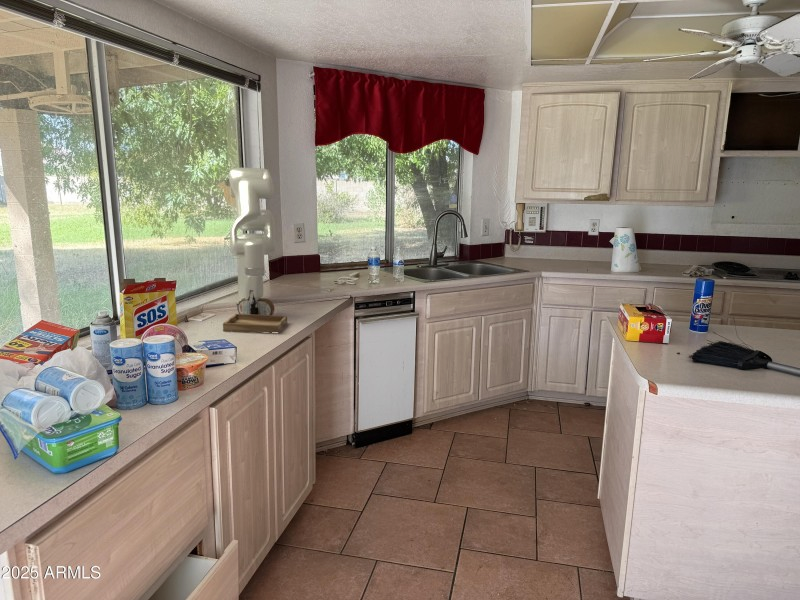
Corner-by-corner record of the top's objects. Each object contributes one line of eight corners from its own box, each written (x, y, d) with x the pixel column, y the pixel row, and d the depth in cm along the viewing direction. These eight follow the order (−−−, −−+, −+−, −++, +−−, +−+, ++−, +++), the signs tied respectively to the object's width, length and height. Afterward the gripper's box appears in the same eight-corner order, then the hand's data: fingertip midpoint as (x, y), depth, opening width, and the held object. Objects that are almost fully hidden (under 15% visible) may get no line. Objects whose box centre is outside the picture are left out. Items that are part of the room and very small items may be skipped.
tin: (274, 318, 222) (274, 298, 220) (272, 320, 219) (272, 300, 217) (239, 316, 223) (239, 296, 221) (236, 317, 220) (236, 297, 218)
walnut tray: (236, 320, 216) (235, 313, 215) (287, 323, 215) (287, 316, 215) (223, 331, 202) (222, 323, 201) (277, 333, 201) (277, 326, 201)
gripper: (251, 267, 225) (252, 310, 229) (239, 274, 209) (240, 320, 213) (269, 268, 225) (270, 311, 229) (258, 275, 209) (259, 321, 213)
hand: (255, 315), depth 221 cm, fingers closed on tin, 2 cm apart
